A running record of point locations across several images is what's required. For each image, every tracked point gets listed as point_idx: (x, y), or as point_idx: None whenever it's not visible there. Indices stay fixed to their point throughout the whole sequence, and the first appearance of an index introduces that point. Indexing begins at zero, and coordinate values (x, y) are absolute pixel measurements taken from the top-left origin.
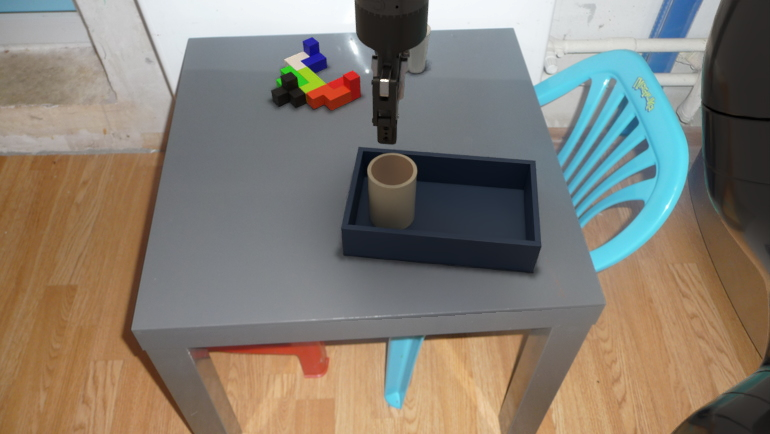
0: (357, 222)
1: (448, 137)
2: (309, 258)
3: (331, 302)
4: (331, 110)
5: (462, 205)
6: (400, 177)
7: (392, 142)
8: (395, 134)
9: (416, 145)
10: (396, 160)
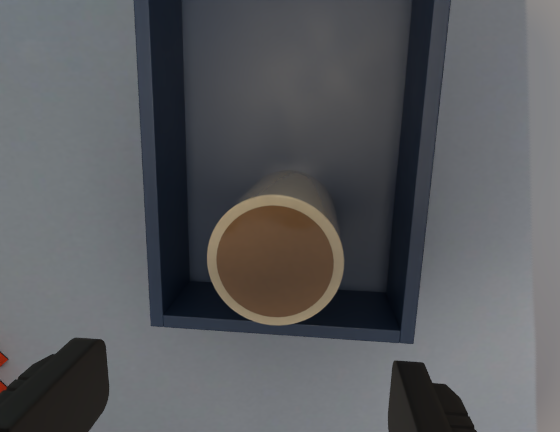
0: None
1: (32, 101)
2: (404, 359)
3: (506, 311)
4: (7, 359)
5: (247, 61)
6: (303, 239)
7: (442, 386)
8: (435, 397)
9: (73, 175)
10: (236, 253)
